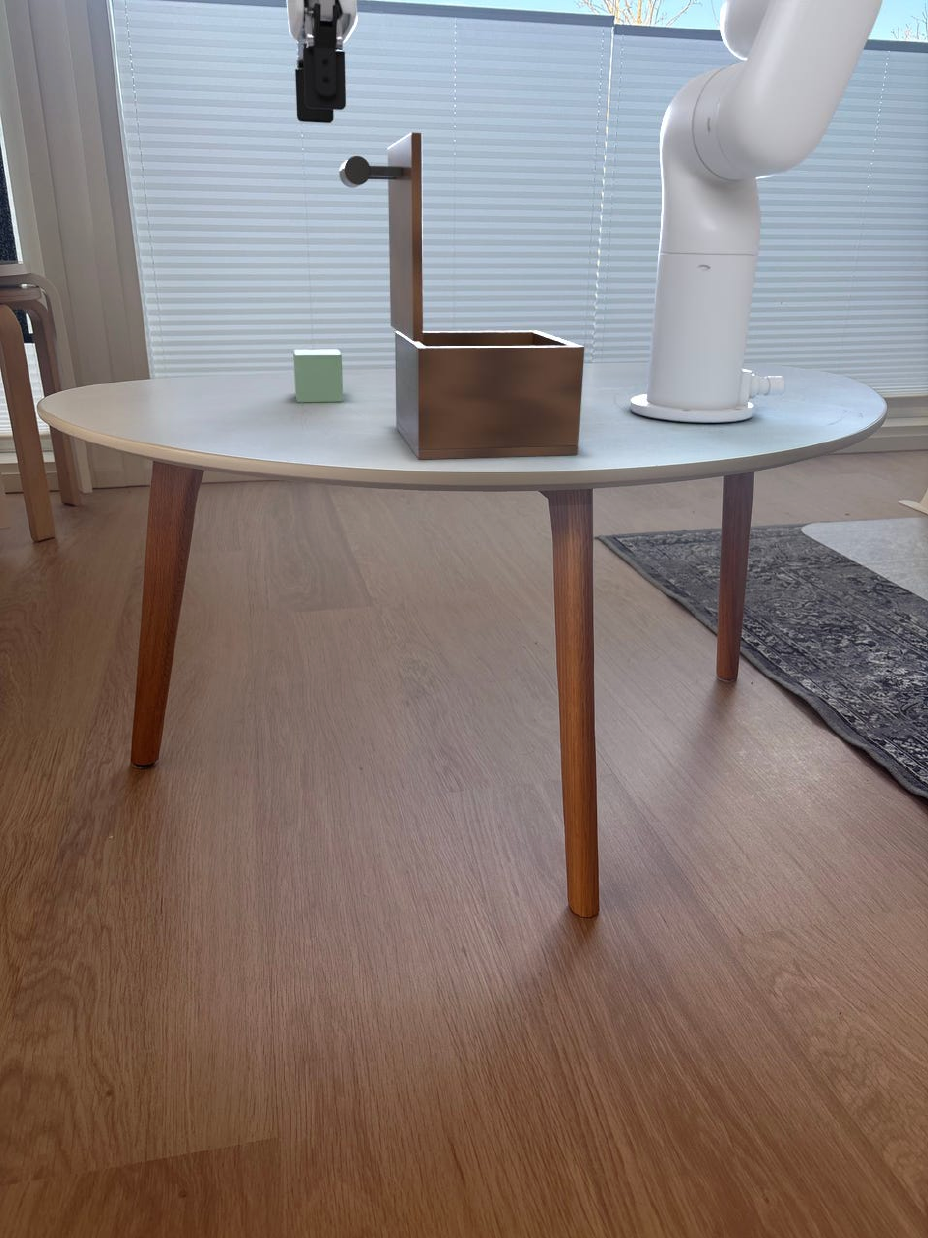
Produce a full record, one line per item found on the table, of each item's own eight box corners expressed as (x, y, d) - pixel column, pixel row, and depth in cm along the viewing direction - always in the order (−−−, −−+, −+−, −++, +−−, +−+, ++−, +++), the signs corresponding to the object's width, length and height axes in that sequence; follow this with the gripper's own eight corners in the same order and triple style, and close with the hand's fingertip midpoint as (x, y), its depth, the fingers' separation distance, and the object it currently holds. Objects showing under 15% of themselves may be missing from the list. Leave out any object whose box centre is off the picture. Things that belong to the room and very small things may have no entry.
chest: (534, 424, 91) (538, 330, 87) (578, 454, 78) (584, 346, 75) (396, 428, 88) (395, 331, 85) (418, 459, 76) (418, 347, 72)
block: (339, 394, 106) (338, 349, 104) (343, 401, 102) (341, 354, 100) (295, 395, 105) (292, 349, 103) (297, 402, 101) (294, 354, 99)
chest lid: (396, 148, 79) (334, 146, 78) (422, 132, 67) (348, 129, 66) (399, 326, 85) (340, 326, 84) (423, 341, 72) (355, 342, 71)
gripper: (376, -172, 65) (379, 105, 72) (348, -94, 81) (352, 128, 87) (267, -186, 63) (280, 99, 70) (259, -103, 79) (270, 124, 85)
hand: (320, 115), depth 79 cm, fingers open, 9 cm apart
